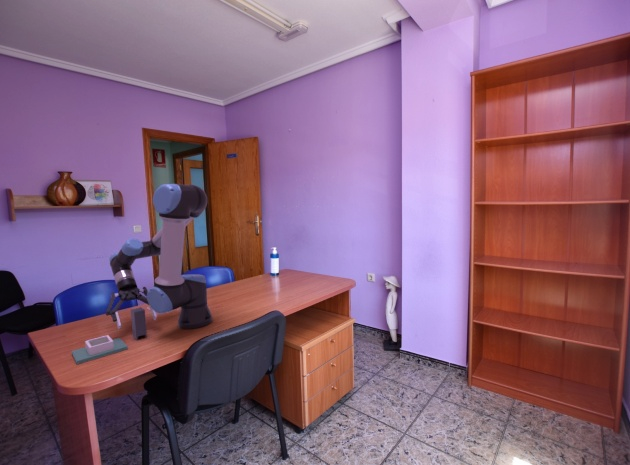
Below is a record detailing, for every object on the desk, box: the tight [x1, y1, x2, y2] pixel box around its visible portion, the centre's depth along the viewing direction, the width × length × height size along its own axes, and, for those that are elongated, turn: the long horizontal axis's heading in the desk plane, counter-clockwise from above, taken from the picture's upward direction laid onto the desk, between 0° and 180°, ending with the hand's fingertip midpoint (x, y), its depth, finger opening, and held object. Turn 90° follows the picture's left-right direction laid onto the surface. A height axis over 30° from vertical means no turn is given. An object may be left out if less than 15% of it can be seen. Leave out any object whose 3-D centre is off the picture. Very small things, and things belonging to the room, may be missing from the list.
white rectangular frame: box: [146, 306, 179, 316], centre depth 173 cm, size 11×1×18 cm
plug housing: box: [130, 307, 148, 341], centre depth 134 cm, size 4×5×12 cm
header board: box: [71, 334, 129, 365], centre depth 121 cm, size 16×12×4 cm
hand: (138, 322), depth 133 cm, fingers open, 13 cm apart
